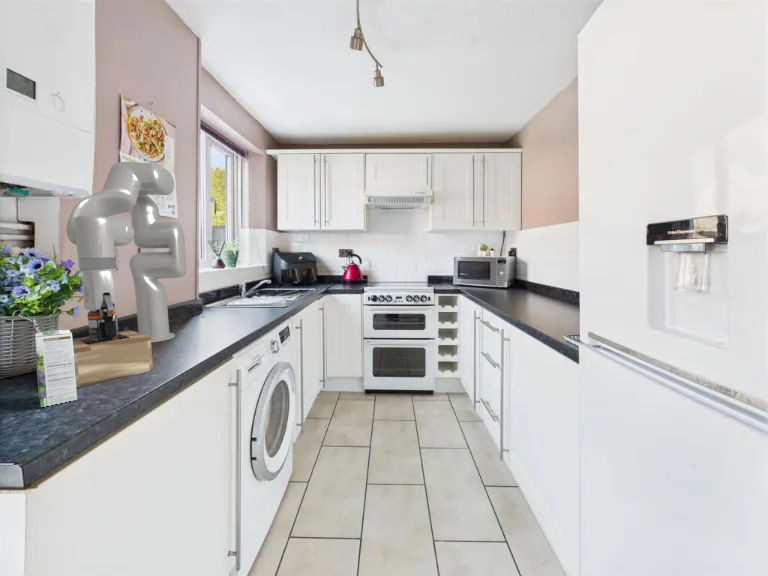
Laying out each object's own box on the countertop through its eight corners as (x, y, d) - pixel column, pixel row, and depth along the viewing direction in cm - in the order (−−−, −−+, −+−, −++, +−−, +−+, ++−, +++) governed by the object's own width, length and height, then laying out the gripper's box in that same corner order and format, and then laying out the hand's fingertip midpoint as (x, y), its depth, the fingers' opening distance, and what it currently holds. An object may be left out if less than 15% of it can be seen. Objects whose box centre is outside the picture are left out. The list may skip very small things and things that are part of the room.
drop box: (60, 375, 94) (57, 341, 94) (133, 361, 107) (130, 330, 106) (75, 388, 85) (71, 349, 84) (153, 370, 97) (150, 336, 96)
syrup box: (39, 401, 77) (32, 332, 76) (76, 393, 82) (69, 328, 80) (40, 408, 73) (33, 336, 72) (79, 400, 77) (72, 331, 76)
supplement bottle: (113, 341, 99) (109, 299, 98) (124, 344, 96) (120, 300, 95) (86, 346, 94) (81, 302, 93) (97, 349, 91) (92, 303, 90)
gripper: (70, 266, 96) (77, 334, 98) (88, 266, 85) (96, 343, 87) (105, 264, 102) (111, 329, 104) (126, 265, 91) (133, 337, 93)
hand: (104, 335), depth 95 cm, fingers closed on supplement bottle, 6 cm apart
